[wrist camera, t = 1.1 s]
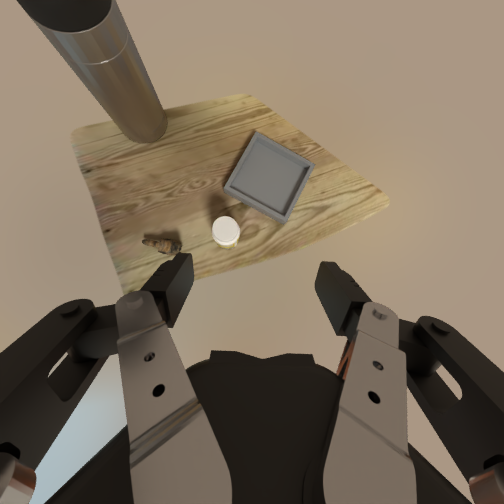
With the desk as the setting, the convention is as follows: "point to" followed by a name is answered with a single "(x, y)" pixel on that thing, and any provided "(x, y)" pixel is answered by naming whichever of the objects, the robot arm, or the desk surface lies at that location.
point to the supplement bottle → (226, 232)
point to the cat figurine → (165, 246)
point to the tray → (269, 178)
